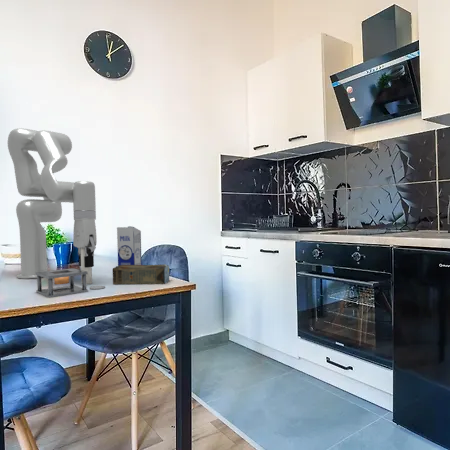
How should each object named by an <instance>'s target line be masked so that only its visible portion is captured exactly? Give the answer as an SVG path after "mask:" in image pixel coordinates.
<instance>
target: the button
mask: <svg viewBox="0 0 450 450" xmlns="http://www.w3.org/2000/svg"><path fill="white" fill-rule="evenodd" d="M53 281H54V282H53V285H66V284H70V276H68V277H60V278H53Z"/></svg>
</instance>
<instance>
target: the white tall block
mask: <svg viewBox="0 0 450 450" xmlns="http://www.w3.org/2000/svg"><path fill="white" fill-rule="evenodd" d="M87 247H90V245H87ZM87 250H88V249H87ZM84 256H85V249H84V248H81V266H80V270H82V271H87V274H86V285H91V284H93V267H87V268H86V267H85V266H84ZM80 277H81V278H80V279H81V282H82V275H80Z"/></svg>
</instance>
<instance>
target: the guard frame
mask: <svg viewBox="0 0 450 450" xmlns="http://www.w3.org/2000/svg"><path fill="white" fill-rule="evenodd" d="M86 274H87V271H82V270H81V269H77V268H73V267H71V268H64V269H56V270H55V269H54V270H53V269H52V270H47V271H44V272H36V275H37V278H36V281H37V282H36V283H37V287H36V288H37V290H36V289H35V291H36V293H37V294H39V295H42V296H45V297H47V298H54V297H61V296H66V295H73V294H81V293H86V292H89V290H88V288H87V284H86ZM81 275H82V281H81V285H82V287H81V286H78V285H75V280H74V279H75V277H76V276H81ZM68 276H69V285H65V286H64V285H63V286H57V287H54V282H53V281H54V278H60V277H68ZM42 278H44V279H47V284H48V285H47V286H48V288H43V287H42Z"/></svg>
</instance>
